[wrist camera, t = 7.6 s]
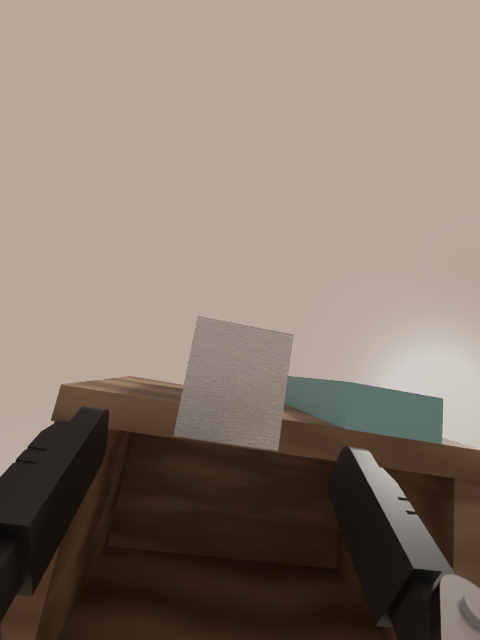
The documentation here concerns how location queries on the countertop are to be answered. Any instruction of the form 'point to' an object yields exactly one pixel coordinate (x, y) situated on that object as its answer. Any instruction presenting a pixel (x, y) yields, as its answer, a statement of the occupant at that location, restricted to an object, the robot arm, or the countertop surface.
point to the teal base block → (368, 408)
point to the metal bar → (235, 385)
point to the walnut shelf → (229, 529)
